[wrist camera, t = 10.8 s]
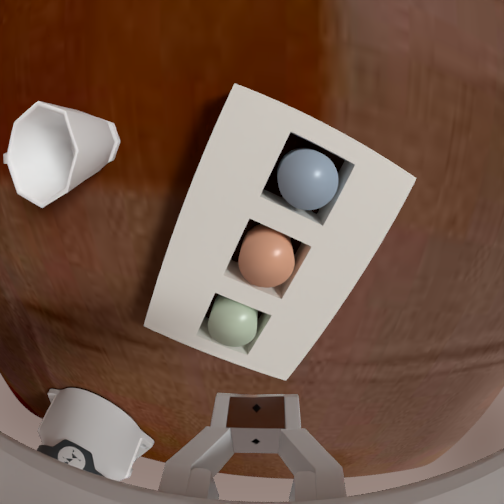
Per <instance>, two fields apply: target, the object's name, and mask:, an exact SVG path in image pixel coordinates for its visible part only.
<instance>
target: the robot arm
mask: <svg viewBox="0 0 504 504" xmlns="http://www.w3.org/2000/svg"><path fill="white" fill-rule="evenodd" d="M48 397H49V399H50V402H51V405H50V406H49V408H48V410H47V412H46V414H45V416H44V418H43V420H42V422H41V424H40V426H39V428H38V433H39V436H40V438H41V442H42V445H40V446H39V448H38V449H37V451H36V450H34V449H32V448H30V447H28V446H26V445H24V444H22V443H20V442H18V441H17V440H15V439H13V438H11V437H9V436H7V435H6V434H4V433H2V432H1V431H0V504H504V449H502V450H500V451H497V452H496V453H493V454H491V455H489V456H487V457H485V458H482V459H480V460H478V461H475V462H473V463H471V464H468V465H466V466H463V467H460V468H458V469H455V470H453V471H450V472H447V473H444V474H441V475H438V476H435V477H432V478H429V479H425V480H422V481H419V482H415V483H411V484H408V485H404V486H400V487H396V488H392V489H387V490H382V491H378V492H372V493H367V494H361V495H355V496H349V497H346V491H345V483H344V475H343V469H342V466H341V465H340V464H339V463H338V462H337V461H336V460H335V459H334V458H333V457H332V456H331V455H330V454H329V453H328V452H327V451H326V450H325V449H324V448H323V447H322V446H321V445H320V444H319V443H318V442H317V441H316V440H315V439H314V437H313V436H312V435H311V434H310V433H309V432H308V431H307V430H306V429H305V428H301V421H300V409H299V397H298V394H262V395H247V394H229V393H217V395H216V398H215V404H214V409H213V415H212V420H211V426H210V427H207V426H206V427H205V428H204V429H203V430H202V431H201V432H200V433H199V434H198V435H197V436H195V437H194V438H193V439H192V440H191V441H190V442H189V443H188V444H186V445H185V446H184V447H183V448H182V449H181V450H180V451H178V452H177V453H176V454H175V455H174V456H173V457H171V458H170V459H169V460H168V461H167V462H166V463H165V467H164V471H163V474H162V478H161V482H160V486H159V489H158V491H156V490H151V489H147V488H142V487H138V486H134V485H130V484H126V483H123V482H119V481H121V480H123V479H124V478H129V477H130V475H131V473H132V470H133V469H132V465H133V462H135V461H136V459H137V458H138V457H140V456H141V455H142V454H144V453H145V452H146V451H147V450H149V449H150V448H151V447H152V446H153V444H154V440H153V439H152V438H150V437H149V436H148V435H147V434H145V433H144V432H142V430H141V429H140V428H139V427H138V425H137V424H136V423H135V422H134V421H133V419H132V418H131V417H129V416H128V415H127V414H126V413H125V412H124V411H122V410H121V409H120V408H118V407H117V406H115V405H114V404H112V403H111V402H109V401H107V400H106V399H104V398H102V397H100V396H98V395H96V394H94V393H91V392H89V391H86V390H82V389H78V388H66V389H63V390H57V389H50V390H49V392H48ZM234 452H238V453H279V455H280V457H281V458H282V460H283V461H284V462H285V464H286V465H287V467H288V468H289V469H290V471H291V472H292V473H293V475H294V480H293V484H292V488H291V492H290V496H289V502H243V501H226V500H219V494H218V491H217V488H216V485H215V482H214V479H213V477H214V476H215V475H216V474H217V473H218V472H219V470H220V469H221V468H222V467H223V466H224V465H225V464H226V462H227V461H228V460H229V459H230V458H231V456H232V455H233V454H234Z"/></svg>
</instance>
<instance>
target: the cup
mask: <svg viewBox="0 0 504 504" xmlns="http://www.w3.org/2000/svg"><path fill="white" fill-rule="evenodd" d="M119 144H120V139H119V136H118V133H117V130H116V127H115V125H114V123H112V122H109V121H107V120H104V119H101V118H97V117H94V116H92V115H89V114H86V113H84V112H81V111H78V110H74V109H70V108H66V107H61V106H57V105H54V104H50V103H45V102H41V101H37V102H36V103H35V104H34V105H33V106H32V107H30V108H29V109H28V110H27V111H26V112H25V113H24V114H23V115H21V116H20V117H19V118H18V119H17V120H16V121H15V122H14V124H13V129H12V133H11V137H10V142H9V147H8V152H7V153H5V154H3V157H4V164H8V167H9V170H10V173H11V176H12V179H13V182H14V185H15V188H16V191H17V194H19V195H21V196H22V197H24V198H26V199H27V200H29V201H31V202H32V203H34V204H36V205H38V206H39V207H41V208H43V207H45V206H46V205H48V204H49V203H51V202H53V201H54V200H56V199H58V198H59V197H61V196H62V195H64V194H66V193H67V192H69V191H70V190H72V189H73V188H75V187H76V186H78V185H79V184H80V183H82V182H83V181H84V180H86V179H88V178H89V177H91V176H92V175H94V174H95V173H97V172H99V171H100V170H101V169H102V168H103V167H104V166H105V165H106V164H107V163H109V162H111V161H113V160H114V158H115V155H116V152H117V150H118V147H119Z"/></svg>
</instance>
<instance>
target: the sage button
mask: <svg viewBox="0 0 504 504" xmlns="http://www.w3.org/2000/svg"><path fill="white" fill-rule="evenodd" d="M257 319H258V310H256V309H254V308H251V307H249V306H246V305H244V304H241V303H239V302H237V301H234V300H232V299H229V298H227V297H224V296H222V295H220V294H219V295H218V296H217V297H216V299H215V301H214V304H213V307H212V311H211V314H210V317H209V320H208V331H209V333H210V335H211V336H212V337H213V339H215V340H216V341H217V342H219V343H220V344H223V345H225V346H230V347H239V346H243V345H246V344H248V343H249V342H251V341H252V340H253V338H254V337H255V335H256V331H257Z"/></svg>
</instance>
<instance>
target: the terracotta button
mask: <svg viewBox="0 0 504 504" xmlns="http://www.w3.org/2000/svg"><path fill="white" fill-rule="evenodd" d="M238 265H239V269H240V272H241V274H242V275H243V277H244V278H245V279H246V280H247V281H248V282H250V283H251V284H253V285H256V286H259V287H265V288H269V287H275V286H278V285H280V284H282V283H283V282H285V281H286V280H287V279H288V278H289V277H290V275H291V274H292V272H293V269H294V265H295V260H294V253H293V248H292V242H291V239H290V236H287V235H285V234H283V233H281V232H279V231H276V230H274V229H272V228H270V227H268V226H265V225H263V224H259V225H256V226H254V227H252V228H251V229H250V230H249V231H248V232H247V233H246V234H245V236H244V239H243V242H242V246H241V250H240V254H239V259H238Z"/></svg>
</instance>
